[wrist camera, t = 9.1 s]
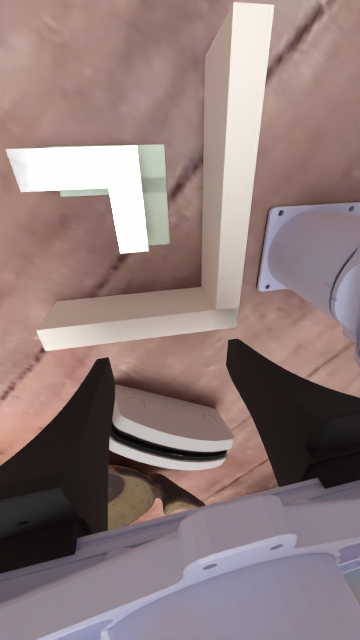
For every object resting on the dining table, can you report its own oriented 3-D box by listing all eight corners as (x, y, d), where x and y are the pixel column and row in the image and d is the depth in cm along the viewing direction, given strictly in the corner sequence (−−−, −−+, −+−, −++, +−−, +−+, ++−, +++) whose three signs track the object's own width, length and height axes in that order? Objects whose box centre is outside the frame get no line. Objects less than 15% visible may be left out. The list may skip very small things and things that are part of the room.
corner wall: (234, 57, 15) (274, 5, 10) (219, 302, 24) (236, 327, 20) (-35, 48, 13) (-120, -21, 8) (62, 319, 22) (45, 351, 18)
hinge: (94, 408, 29) (90, 473, 20) (107, 375, 29) (110, 426, 20) (199, 429, 35) (234, 485, 26) (212, 402, 35) (251, 450, 26)
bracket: (61, 246, 18) (45, 259, 15) (34, 157, 15) (5, 149, 12) (146, 240, 19) (148, 251, 16) (136, 154, 16) (136, 145, 13)
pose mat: (163, 145, 16) (164, 144, 16) (169, 243, 20) (169, 243, 20) (48, 146, 15) (47, 146, 15) (76, 250, 19) (75, 250, 19)
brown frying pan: (-5, 438, 29) (-45, 511, 23) (204, 442, 38) (218, 495, 31) (5, 515, 39) (-21, 581, 33) (168, 504, 48) (173, 554, 41)
